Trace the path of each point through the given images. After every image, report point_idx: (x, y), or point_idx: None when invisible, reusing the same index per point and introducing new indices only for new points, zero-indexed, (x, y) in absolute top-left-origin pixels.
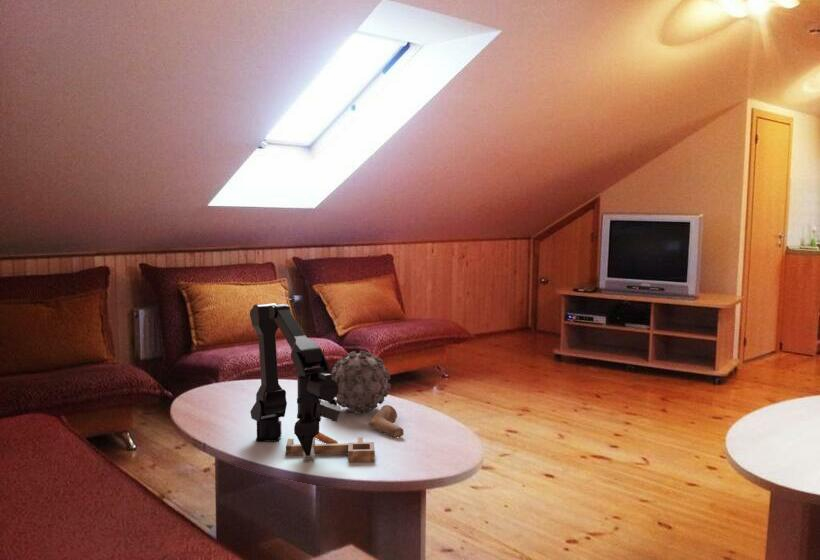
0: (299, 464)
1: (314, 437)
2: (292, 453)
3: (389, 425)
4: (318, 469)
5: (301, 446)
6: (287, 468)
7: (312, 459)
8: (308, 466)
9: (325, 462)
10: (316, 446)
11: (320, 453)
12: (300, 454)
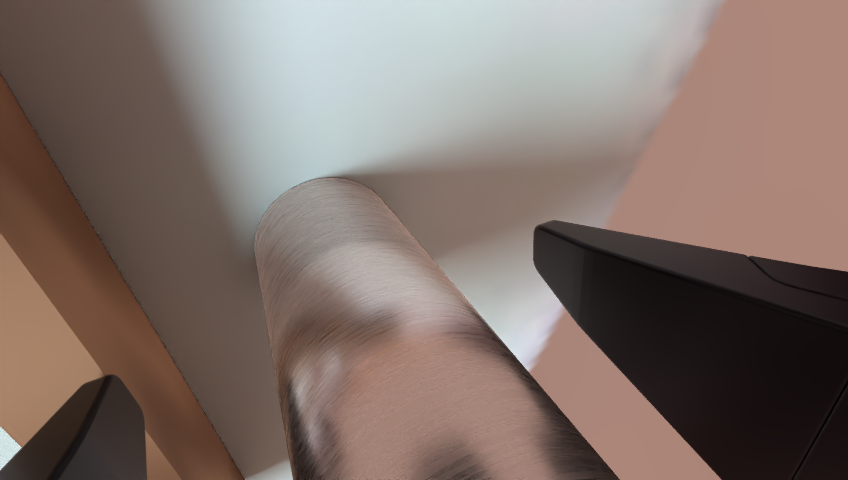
0: (461, 277)
1: (479, 385)
2: (224, 457)
3: None
4: (591, 53)
5: (180, 467)
6: (541, 319)
7: (378, 199)
8: (510, 181)
9: (384, 12)
10: (57, 297)
11: (53, 181)
12: (190, 391)
